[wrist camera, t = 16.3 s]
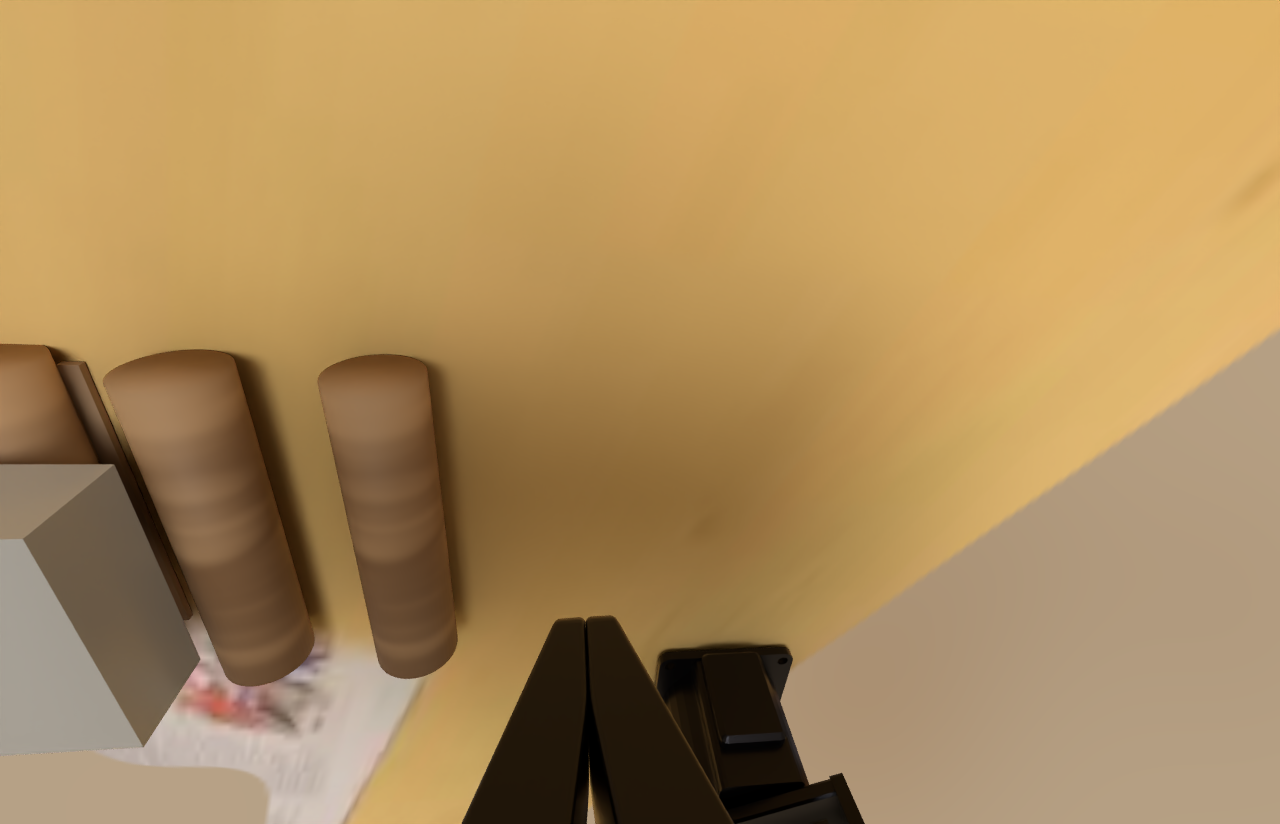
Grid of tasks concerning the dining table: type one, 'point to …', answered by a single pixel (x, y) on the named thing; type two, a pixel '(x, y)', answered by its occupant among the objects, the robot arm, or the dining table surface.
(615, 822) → the robot arm
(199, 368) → the roller track
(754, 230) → the dining table surface
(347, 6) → the dining table surface
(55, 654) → the slab
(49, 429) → the roller
